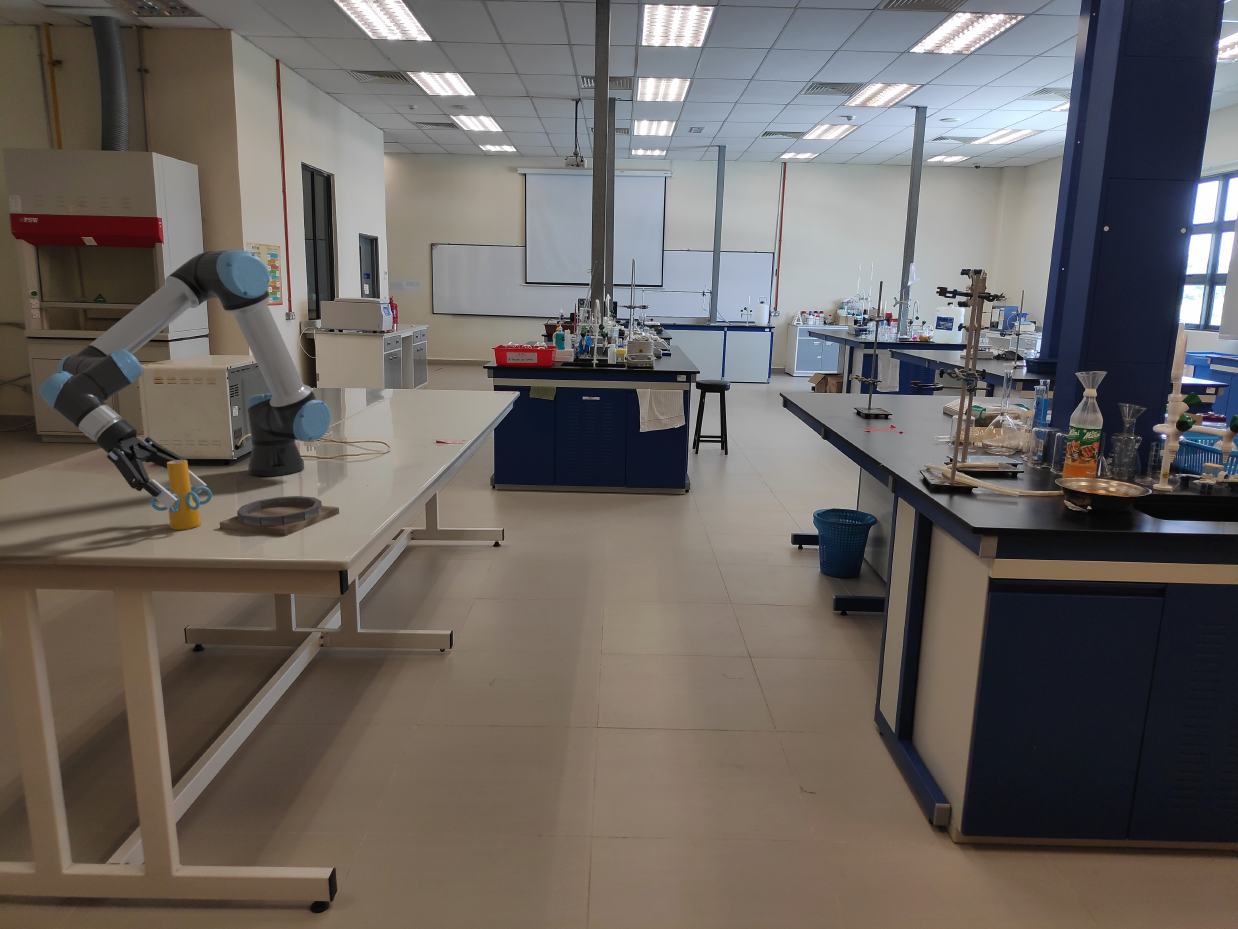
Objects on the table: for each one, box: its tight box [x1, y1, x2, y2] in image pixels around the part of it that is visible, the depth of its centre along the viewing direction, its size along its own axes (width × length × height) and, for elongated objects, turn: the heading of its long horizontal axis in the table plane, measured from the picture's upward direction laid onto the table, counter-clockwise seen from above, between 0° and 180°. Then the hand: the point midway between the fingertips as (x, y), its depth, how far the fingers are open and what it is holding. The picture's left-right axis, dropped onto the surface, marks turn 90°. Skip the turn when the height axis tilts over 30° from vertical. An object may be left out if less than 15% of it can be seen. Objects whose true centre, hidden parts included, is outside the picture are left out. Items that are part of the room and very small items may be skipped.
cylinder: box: [150, 459, 213, 531], centre depth 176 cm, size 12×10×15 cm
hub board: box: [219, 495, 340, 537], centre depth 181 cm, size 18×18×4 cm
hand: (188, 496), depth 176 cm, fingers closed on cylinder, 12 cm apart
